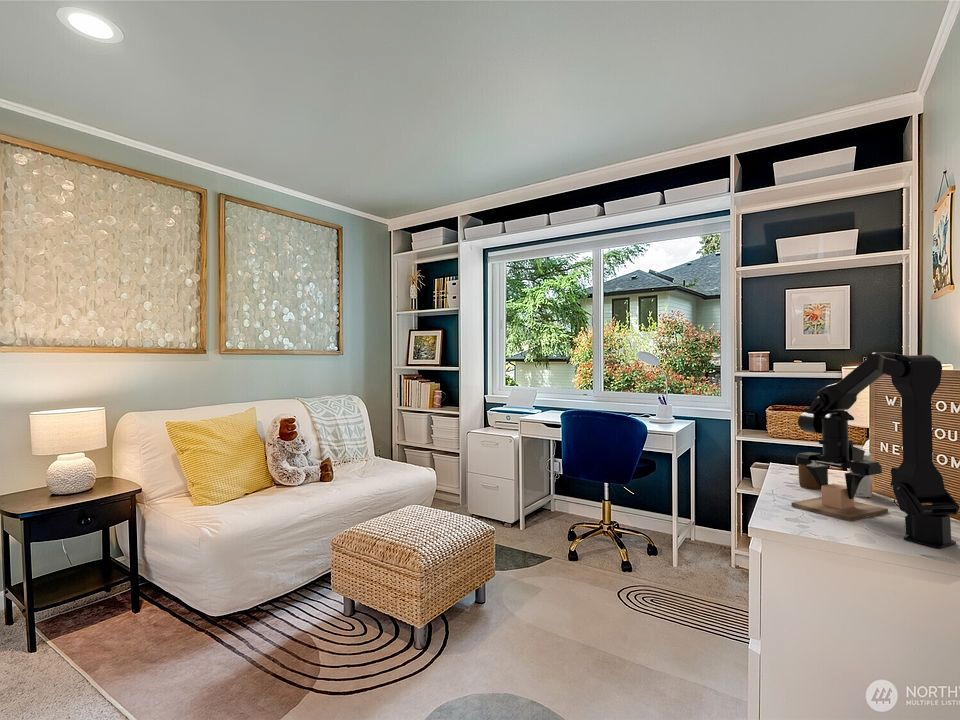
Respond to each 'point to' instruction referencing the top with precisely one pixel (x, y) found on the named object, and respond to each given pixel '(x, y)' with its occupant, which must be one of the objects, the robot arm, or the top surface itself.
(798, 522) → the top surface
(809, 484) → the mug
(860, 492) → the skincare box
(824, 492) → the terracotta cube
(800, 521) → the top surface
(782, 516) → the top surface
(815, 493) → the top surface
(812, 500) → the walnut board
